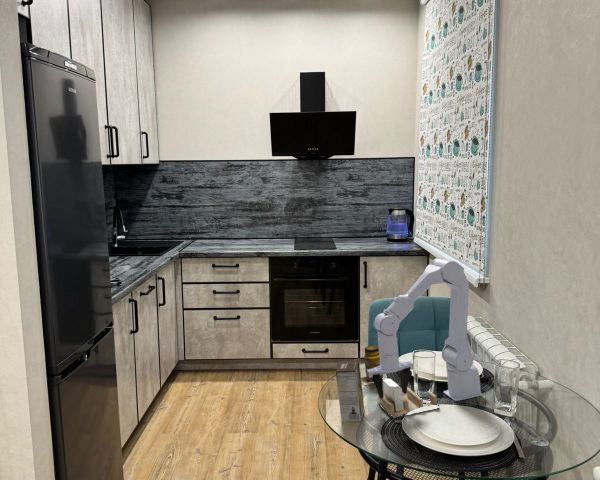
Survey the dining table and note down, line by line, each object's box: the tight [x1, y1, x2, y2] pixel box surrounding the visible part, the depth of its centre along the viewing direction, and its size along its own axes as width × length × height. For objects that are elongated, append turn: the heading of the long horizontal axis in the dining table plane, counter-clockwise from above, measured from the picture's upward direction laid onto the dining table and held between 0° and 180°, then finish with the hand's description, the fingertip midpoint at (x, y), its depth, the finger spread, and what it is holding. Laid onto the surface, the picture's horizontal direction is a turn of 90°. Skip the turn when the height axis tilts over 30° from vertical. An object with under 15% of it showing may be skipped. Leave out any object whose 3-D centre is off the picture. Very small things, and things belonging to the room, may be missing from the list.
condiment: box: [361, 345, 384, 386], centre depth 198 cm, size 7×8×12 cm
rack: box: [377, 388, 438, 416], centre depth 174 cm, size 15×12×4 cm
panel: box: [382, 378, 404, 412], centre depth 172 cm, size 2×9×7 cm, turn 14°
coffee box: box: [335, 359, 365, 423], centre depth 171 cm, size 9×6×16 cm
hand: (392, 395), depth 172 cm, fingers open, 7 cm apart
